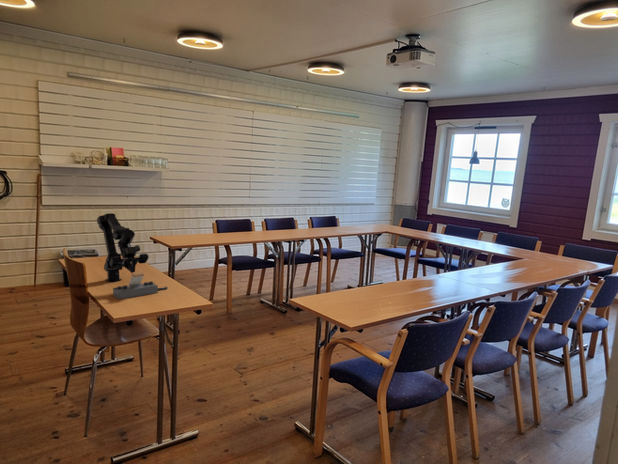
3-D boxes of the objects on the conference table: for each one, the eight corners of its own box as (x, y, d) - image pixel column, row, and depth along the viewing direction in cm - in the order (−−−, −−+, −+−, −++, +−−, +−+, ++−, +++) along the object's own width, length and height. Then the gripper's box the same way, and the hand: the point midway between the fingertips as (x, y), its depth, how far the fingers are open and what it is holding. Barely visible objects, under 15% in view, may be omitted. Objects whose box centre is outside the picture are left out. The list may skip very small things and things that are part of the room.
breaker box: (113, 295, 220) (112, 285, 219) (163, 287, 238) (163, 277, 238) (118, 299, 214) (118, 289, 213) (170, 290, 233) (170, 280, 232)
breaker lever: (128, 284, 223) (132, 272, 218) (139, 282, 227) (142, 270, 222) (129, 287, 222) (133, 275, 217) (140, 285, 226) (144, 273, 221)
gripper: (111, 241, 219) (119, 267, 212) (147, 238, 231) (156, 263, 225) (106, 254, 225) (113, 279, 219) (141, 250, 238) (149, 274, 232)
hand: (133, 273), depth 224 cm, fingers closed
